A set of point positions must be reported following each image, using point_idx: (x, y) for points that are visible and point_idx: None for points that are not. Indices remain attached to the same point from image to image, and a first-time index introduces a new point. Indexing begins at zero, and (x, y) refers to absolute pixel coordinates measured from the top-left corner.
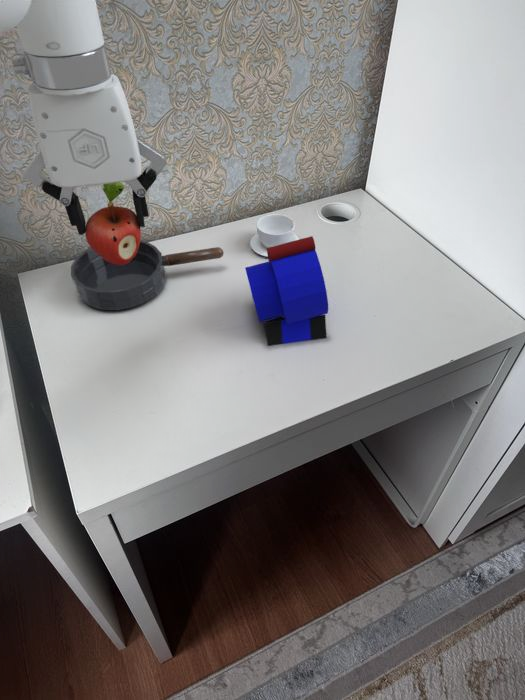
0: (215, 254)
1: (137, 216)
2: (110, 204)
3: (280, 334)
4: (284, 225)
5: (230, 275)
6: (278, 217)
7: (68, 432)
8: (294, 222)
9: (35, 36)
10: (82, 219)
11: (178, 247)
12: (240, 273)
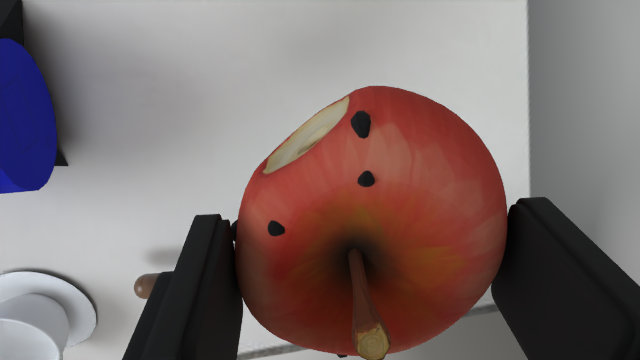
0: (150, 280)
1: (214, 257)
2: (372, 341)
3: None
4: (8, 349)
5: (134, 237)
6: None
7: None
8: None
9: None
10: (528, 278)
11: (246, 323)
12: (112, 239)
